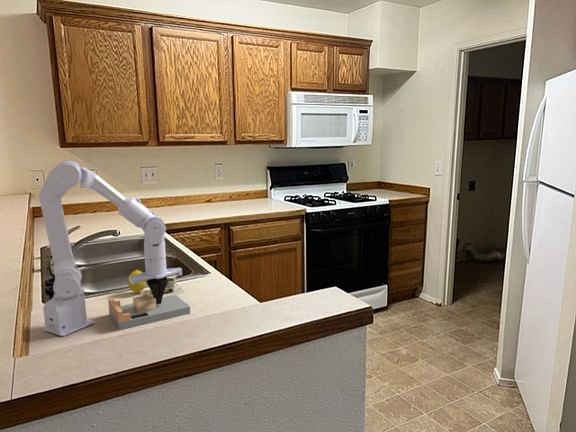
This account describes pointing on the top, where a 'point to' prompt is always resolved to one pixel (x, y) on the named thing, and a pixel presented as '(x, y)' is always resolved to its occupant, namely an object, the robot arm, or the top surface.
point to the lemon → (137, 286)
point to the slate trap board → (153, 312)
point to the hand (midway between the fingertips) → (158, 303)
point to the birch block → (144, 303)
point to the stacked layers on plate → (171, 283)
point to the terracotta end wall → (118, 311)
